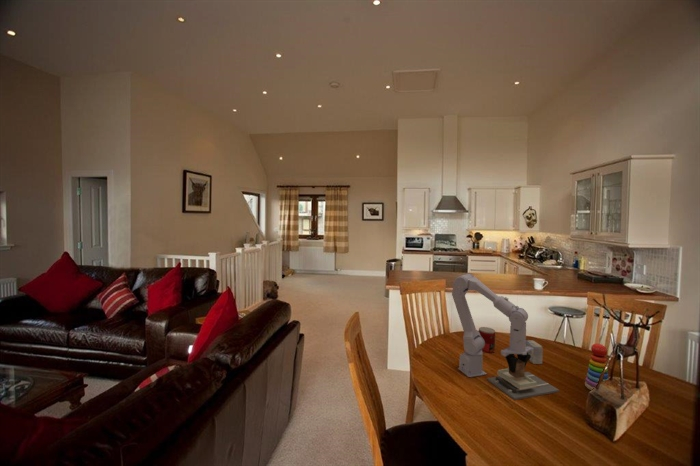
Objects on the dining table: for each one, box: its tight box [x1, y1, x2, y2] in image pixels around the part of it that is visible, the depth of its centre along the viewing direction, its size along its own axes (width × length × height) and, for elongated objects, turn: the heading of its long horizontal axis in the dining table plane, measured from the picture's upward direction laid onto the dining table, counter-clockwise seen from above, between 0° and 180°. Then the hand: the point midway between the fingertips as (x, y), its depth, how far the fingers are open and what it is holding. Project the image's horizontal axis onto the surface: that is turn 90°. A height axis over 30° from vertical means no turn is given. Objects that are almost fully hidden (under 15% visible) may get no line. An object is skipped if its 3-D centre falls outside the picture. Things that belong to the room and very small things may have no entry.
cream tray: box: [496, 367, 537, 390], centre depth 125 cm, size 8×12×3 cm, turn 16°
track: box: [486, 371, 560, 401], centre depth 126 cm, size 22×15×2 cm
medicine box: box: [526, 339, 544, 365], centre depth 149 cm, size 8×4×9 cm, turn 179°
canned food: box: [478, 326, 496, 354], centre depth 160 cm, size 8×8×11 cm
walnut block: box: [509, 359, 526, 378], centre depth 125 cm, size 4×4×6 cm
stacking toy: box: [584, 343, 610, 391], centre depth 123 cm, size 8×8×19 cm
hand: (516, 370), depth 125 cm, fingers closed on walnut block, 4 cm apart
